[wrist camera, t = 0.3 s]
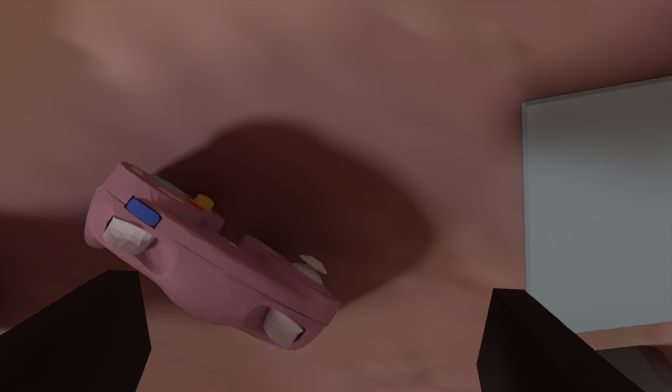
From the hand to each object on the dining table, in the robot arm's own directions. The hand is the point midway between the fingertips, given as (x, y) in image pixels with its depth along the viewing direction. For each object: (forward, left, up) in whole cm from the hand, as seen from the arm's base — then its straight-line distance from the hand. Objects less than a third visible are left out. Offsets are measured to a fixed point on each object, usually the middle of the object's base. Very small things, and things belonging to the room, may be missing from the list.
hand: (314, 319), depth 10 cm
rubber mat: (-5, -14, -10) cm, 18 cm away
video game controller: (-3, +5, -10) cm, 12 cm away
